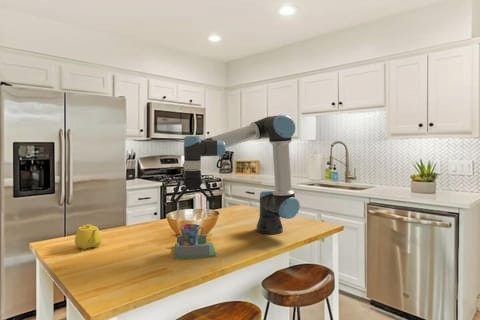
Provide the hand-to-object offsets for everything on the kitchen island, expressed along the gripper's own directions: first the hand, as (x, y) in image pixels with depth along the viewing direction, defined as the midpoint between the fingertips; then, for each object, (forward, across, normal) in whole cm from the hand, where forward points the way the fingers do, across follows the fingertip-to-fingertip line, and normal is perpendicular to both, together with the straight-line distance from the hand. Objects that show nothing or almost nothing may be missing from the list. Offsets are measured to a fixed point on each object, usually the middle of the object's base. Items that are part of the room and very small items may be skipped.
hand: (193, 215), depth 148 cm
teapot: (+16, +49, -13) cm, 53 cm away
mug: (+16, +1, 0) cm, 16 cm away
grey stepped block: (+16, 0, 0) cm, 16 cm away
